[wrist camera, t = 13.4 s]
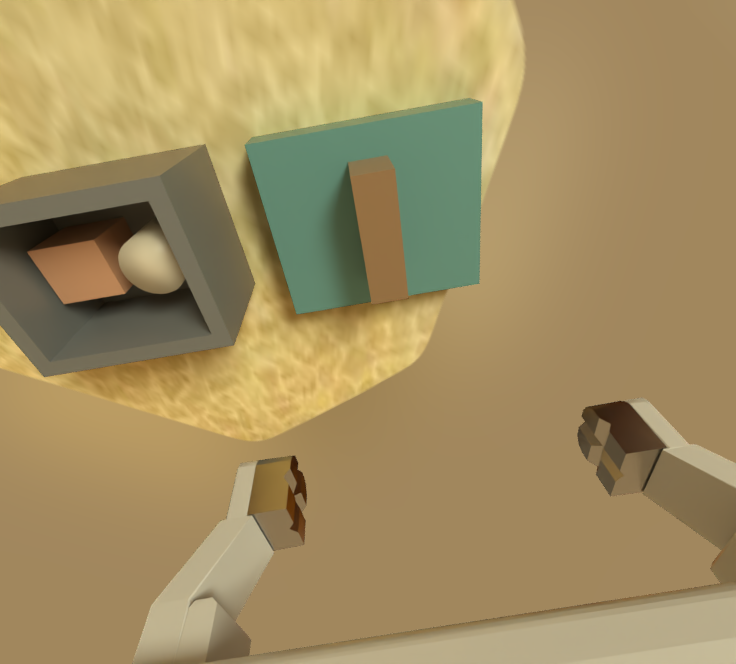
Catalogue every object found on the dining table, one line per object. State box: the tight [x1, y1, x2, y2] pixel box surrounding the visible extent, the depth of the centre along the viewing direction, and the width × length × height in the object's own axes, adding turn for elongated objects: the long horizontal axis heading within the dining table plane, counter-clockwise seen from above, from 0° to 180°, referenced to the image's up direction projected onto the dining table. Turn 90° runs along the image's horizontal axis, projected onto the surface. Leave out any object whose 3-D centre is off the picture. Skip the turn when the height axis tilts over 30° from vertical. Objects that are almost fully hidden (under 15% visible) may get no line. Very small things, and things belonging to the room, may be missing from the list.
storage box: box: [0, 144, 255, 377], centre depth 24 cm, size 12×10×8 cm
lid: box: [245, 98, 482, 314], centre depth 25 cm, size 14×12×6 cm
